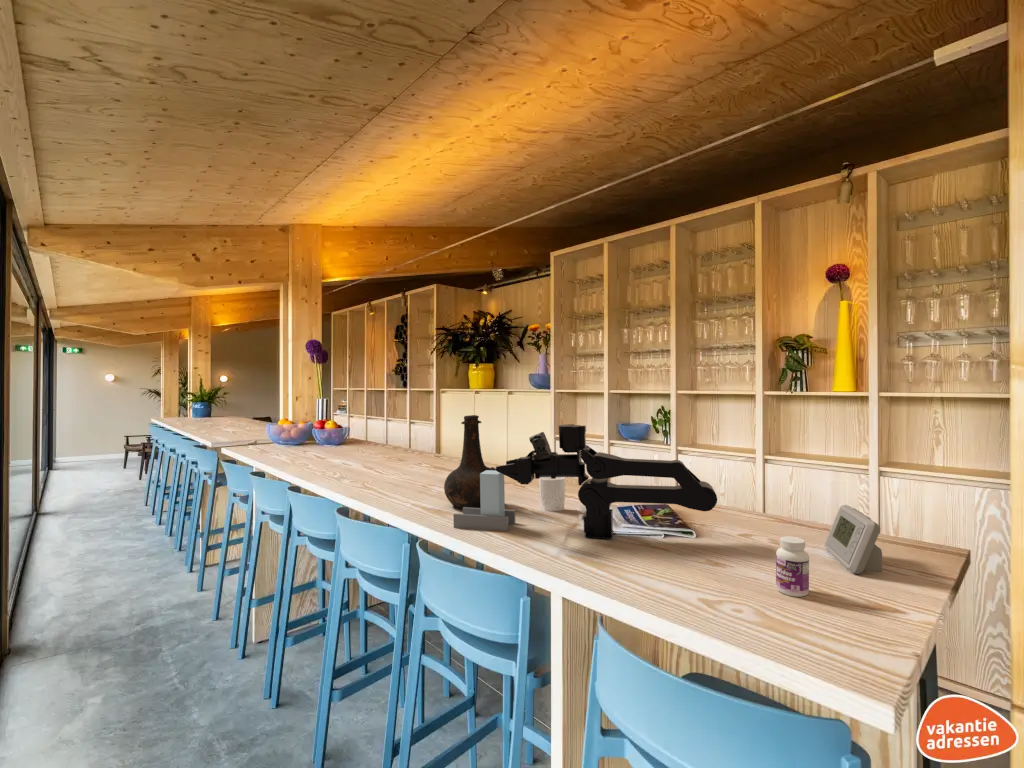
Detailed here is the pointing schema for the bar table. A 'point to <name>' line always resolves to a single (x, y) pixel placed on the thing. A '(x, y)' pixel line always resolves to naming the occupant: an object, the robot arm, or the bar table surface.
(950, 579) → the bar table surface
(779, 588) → the pill bottle
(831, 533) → the digital clock
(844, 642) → the bar table surface
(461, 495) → the dark brown round-bodied bottle
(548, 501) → the white cup
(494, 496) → the block
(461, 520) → the chute
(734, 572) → the bar table surface
